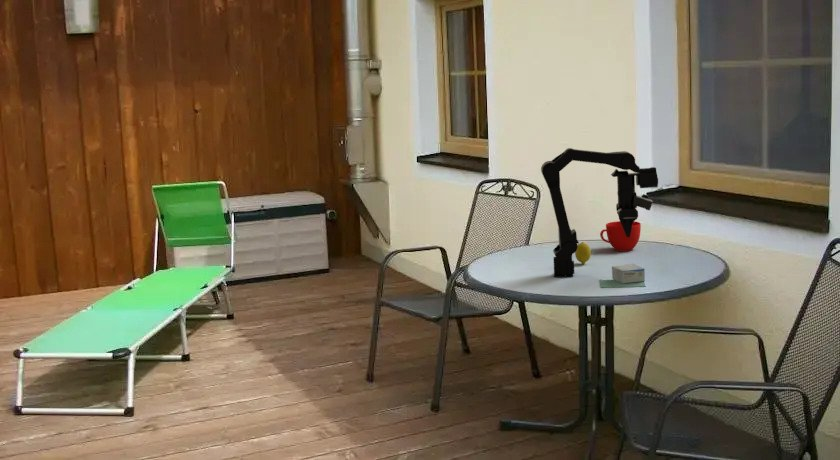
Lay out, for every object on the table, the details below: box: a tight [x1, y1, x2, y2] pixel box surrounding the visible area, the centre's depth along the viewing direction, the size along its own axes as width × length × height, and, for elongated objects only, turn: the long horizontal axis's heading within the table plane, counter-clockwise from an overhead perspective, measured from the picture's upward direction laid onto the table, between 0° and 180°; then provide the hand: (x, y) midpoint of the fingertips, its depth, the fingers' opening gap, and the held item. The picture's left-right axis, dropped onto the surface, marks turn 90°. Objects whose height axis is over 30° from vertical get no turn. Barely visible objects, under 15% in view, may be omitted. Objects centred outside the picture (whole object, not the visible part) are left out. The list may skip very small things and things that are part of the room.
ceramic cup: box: [599, 220, 642, 252], centre depth 367 cm, size 13×17×10 cm
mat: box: [599, 279, 646, 289], centre depth 313 cm, size 14×10×1 cm
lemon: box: [575, 241, 592, 265], centre depth 347 cm, size 6×6×8 cm
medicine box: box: [611, 263, 646, 284], centre depth 316 cm, size 8×4×9 cm
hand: (627, 234), depth 327 cm, fingers open, 9 cm apart
